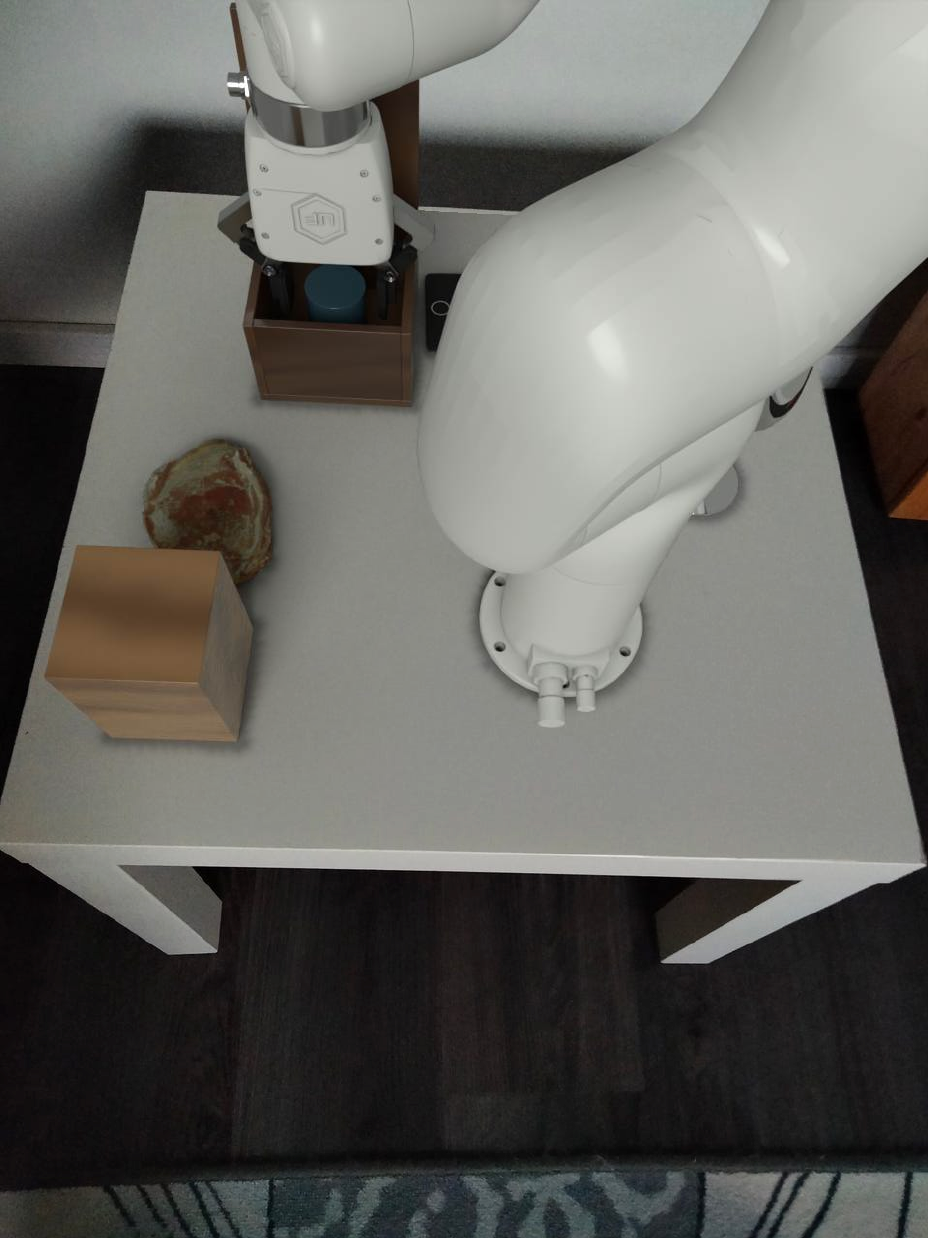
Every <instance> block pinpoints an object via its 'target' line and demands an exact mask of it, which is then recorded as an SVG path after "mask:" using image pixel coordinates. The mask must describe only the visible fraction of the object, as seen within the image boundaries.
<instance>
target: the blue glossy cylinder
mask: <svg viewBox="0 0 928 1238" xmlns="http://www.w3.org/2000/svg"><path fill="white" fill-rule="evenodd" d="M304 289H305V296H306V302H307V309H308V315H309V322H324V323H342V324H361V325H368V311H367V297H366V284H365V280H364V278H363V276H362V275H361V274H360V273H359V272H358V271H357V270H356V269H354V268H352V267H350V266H348V265H341V264H326V265H323V266H320V267H318V268H316V269H314V270H313V271H312V272H311V273H310V274H309V275H308V276H307V278H306V280H305V284H304Z"/></svg>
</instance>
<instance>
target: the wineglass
mask: <svg viewBox="0 0 928 1238" xmlns="http://www.w3.org/2000/svg"><path fill="white" fill-rule="evenodd" d="M813 369H814V366H813V367H811V368H810V369H809V370H807V371H806V372H805V373H803V374H802V375H801V376H799V377H798V378H796V379H795V380H793V381H792V382H790V383H789V384H787V385H786V386H784V387H783V388H781V389H780V390H778V391H777V392H775V393H774V394H772V395H771V396H769V397H768V398H766V401H765V404H764V408H763V411H762V414H761V417H760V420H759V422H758V425H757V427H756V429H755V431H754V433H757V432H762V431H765V430H767V429H769V428H771V427H773V426H775V425H776V424H777V423H779V422H780V421H781V420H783V419H784V418H786V416H788V414H789V413H790V412H791V411H792V410H793V409H794V407H795V405H796V404H797V403H798V401H799V399H800V397H801V396H802V394H803V392H804V389H805V387H806V386H807V384H808V381H809V379H810V377H811V374H812V372H813ZM738 491H739V476H738V472H737V471H736V469H735V466H734V464H733V465H732V466H731V467H730V469H729V470H728V471H727V472H726V474H725V475H724V476H723V477H722V478H721V480H720V481H719V482H718V483H717V484H716V486H715V487H714V488H713V489H712V490H711V492H710V493H709V494H708V495H707V496H706V497H705V499H704V500H703V501H702V502H701V504H700V505H699V506H698V508H697V509H696V510H695V511H694V513H693V514H692V516H695V517H708V516H712V515H716V514H719V513H721V512H723V511H725V510H726V509H728V507H730V506H731V504H732V503H733V502H734V501H735V499H736V497H737V494H738Z"/></svg>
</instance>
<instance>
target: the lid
mask: <svg viewBox="0 0 928 1238" xmlns="http://www.w3.org/2000/svg"><path fill="white" fill-rule="evenodd" d="M229 13H230V20H231V27H232V32H233V37H234V44H235V49H236V50H235V51H236V56H237V61H238V68H239V71H245V68H246V65H247V63H246V58H245V52H244V47H243V42H242V36H241V31H240V25H239V20H238V14H237V9H236V4H235V2H230V5H229ZM420 80H421V79H418V80H416V81H413V82H410V83H408V84H405V85H403V86H402V87H400V88H398V89H395V90H393V91H390V92H388V93H385V94H383V95H380V96H378V97H375V98H372V99H370V101H371V102H373V103H374V104H375V105H376V107H377V108H378V110H379V113H380V116H381V120H382V123H383V128H384V132H385V137H386V141H387V146H388V152H389V159H390V166H391V174H392V183H393V193H394V194H395V195H396V196H398V197H399V198H400V199H402V200H403V201H405V202H406V203H407V204H409V205H410V206H411V207H413V208H414V209H416V210H417V211H419V206H420V90H421V89H420V86H421V85H420ZM244 104H245V109H246V114H247V115H248V112H249V109H250V107H251V106H250V105H249V103H248V101H247V100H244ZM247 115H246V116H247Z"/></svg>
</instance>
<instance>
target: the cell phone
mask: <svg viewBox="0 0 928 1238" xmlns="http://www.w3.org/2000/svg"><path fill="white" fill-rule="evenodd" d="M461 275H462V273H447V272H445V273H444V272H443V273H442V272H438V273H437V272H433V273H427V274H425V277H424V312H425V313H424V316H425V317H424V318H425V346H426V350H428V351H430V352H437V349H438V346H439V342H440V339H441V335H442V332H443V328H444V325H445V321H446V318H447V314H448V311H449V307H450V304H451V301H452V298H453V296H454V293H455V290H456V287H457V284H458V282H459V279H460V277H461Z"/></svg>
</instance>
